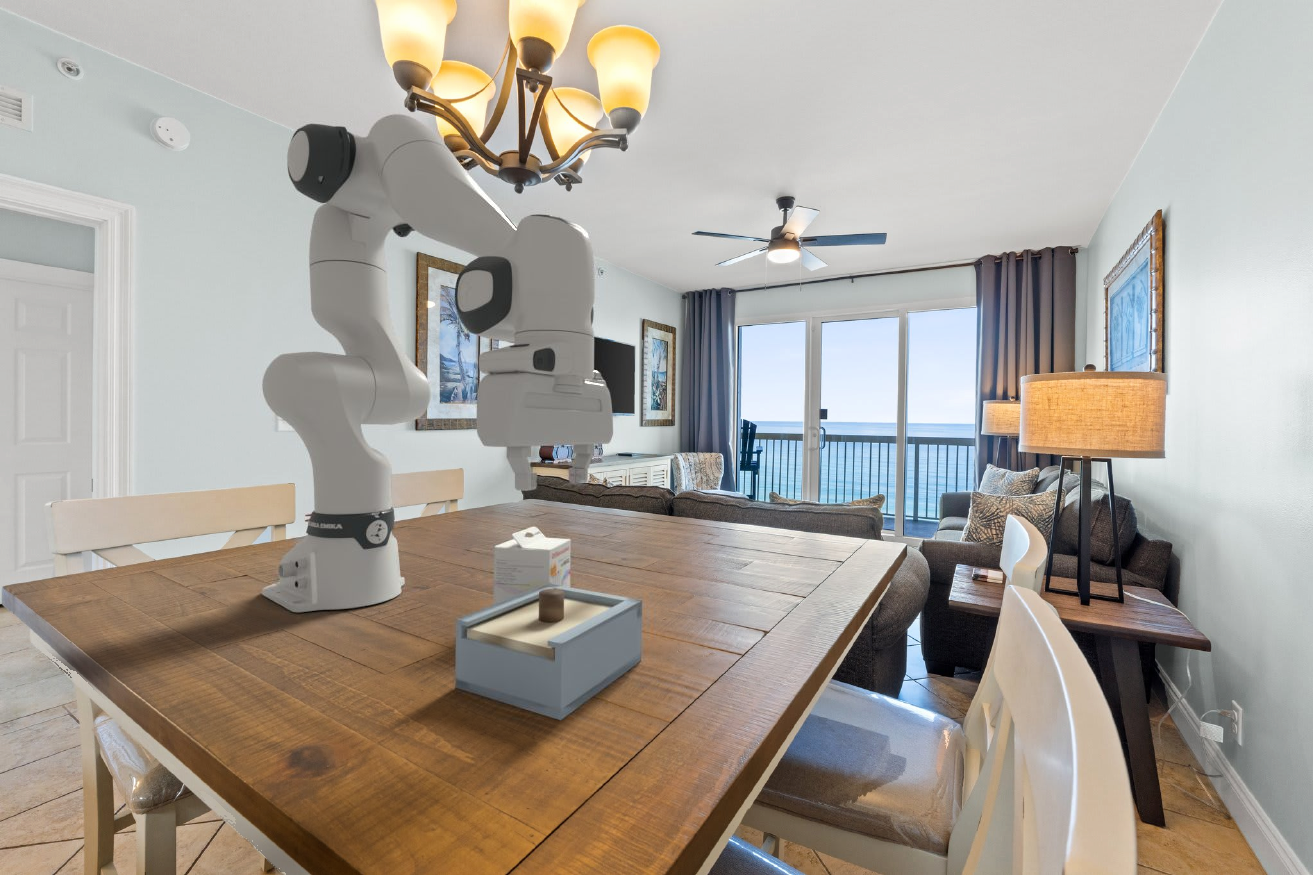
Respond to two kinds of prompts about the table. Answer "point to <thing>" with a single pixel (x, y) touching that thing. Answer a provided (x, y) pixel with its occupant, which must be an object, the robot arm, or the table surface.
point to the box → (580, 656)
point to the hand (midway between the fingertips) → (553, 486)
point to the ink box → (530, 564)
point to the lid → (535, 623)
